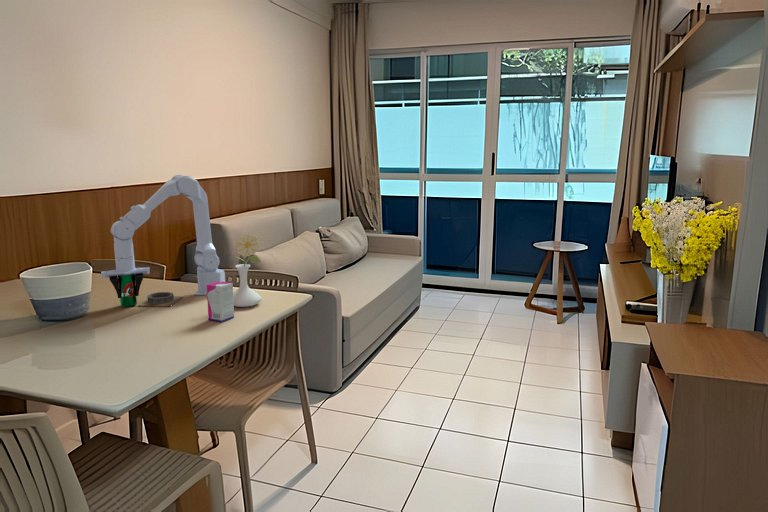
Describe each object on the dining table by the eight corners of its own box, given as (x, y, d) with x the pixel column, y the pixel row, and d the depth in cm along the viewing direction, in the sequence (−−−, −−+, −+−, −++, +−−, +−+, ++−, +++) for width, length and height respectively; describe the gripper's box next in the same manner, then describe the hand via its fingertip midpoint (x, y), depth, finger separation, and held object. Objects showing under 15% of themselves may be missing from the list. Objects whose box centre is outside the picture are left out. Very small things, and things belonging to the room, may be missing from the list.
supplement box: (235, 317, 167) (233, 282, 165) (222, 322, 162) (220, 286, 160) (220, 314, 170) (219, 280, 167) (207, 320, 164) (205, 284, 162)
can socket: (182, 297, 188) (182, 291, 188) (170, 306, 178) (169, 299, 177) (152, 297, 188) (151, 290, 188) (137, 306, 178) (137, 299, 177)
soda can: (140, 303, 181) (137, 269, 178) (131, 307, 176) (128, 273, 174) (126, 303, 181) (123, 269, 179) (117, 307, 176) (114, 272, 174)
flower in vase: (220, 307, 178) (216, 234, 173) (241, 298, 188) (238, 229, 183) (252, 311, 173) (249, 236, 168) (272, 302, 183) (269, 232, 178)
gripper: (100, 261, 168) (104, 302, 171) (149, 257, 175) (152, 296, 178) (99, 257, 174) (103, 296, 177) (147, 253, 181) (150, 291, 184)
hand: (128, 296), depth 178 cm, fingers closed on soda can, 5 cm apart
